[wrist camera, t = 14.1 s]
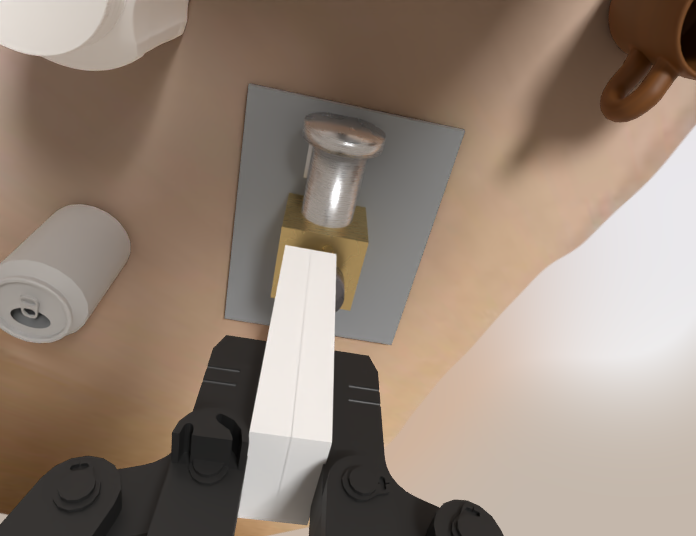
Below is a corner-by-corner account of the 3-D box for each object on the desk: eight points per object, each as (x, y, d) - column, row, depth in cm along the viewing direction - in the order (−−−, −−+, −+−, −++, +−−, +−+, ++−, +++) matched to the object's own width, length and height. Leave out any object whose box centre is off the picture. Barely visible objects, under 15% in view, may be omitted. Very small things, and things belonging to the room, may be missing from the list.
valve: (303, 104, 41) (295, 137, 34) (386, 122, 42) (394, 157, 35) (269, 315, 53) (258, 371, 46) (334, 326, 54) (332, 382, 47)
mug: (598, 121, 42) (657, 162, 34) (537, 63, 39) (586, 93, 32) (732, -8, 37) (838, 5, 29) (672, -85, 34) (771, -93, 26)
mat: (249, 83, 40) (248, 85, 40) (463, 129, 42) (465, 131, 42) (225, 314, 53) (224, 318, 52) (391, 341, 55) (391, 344, 54)
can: (49, 254, 49) (-28, 336, 39) (55, 188, 45) (-29, 259, 35) (128, 278, 50) (74, 361, 40) (140, 215, 46) (83, 291, 36)
